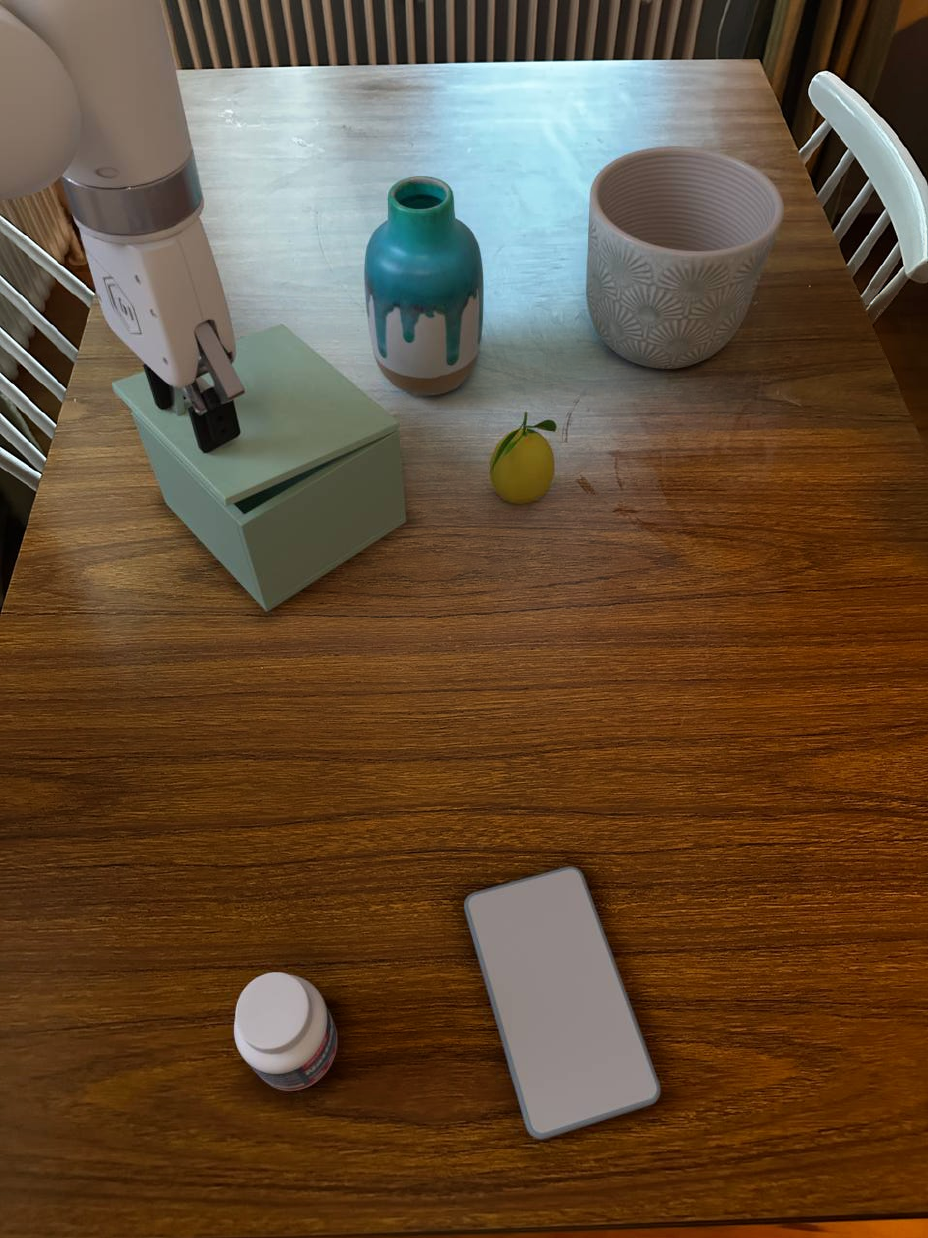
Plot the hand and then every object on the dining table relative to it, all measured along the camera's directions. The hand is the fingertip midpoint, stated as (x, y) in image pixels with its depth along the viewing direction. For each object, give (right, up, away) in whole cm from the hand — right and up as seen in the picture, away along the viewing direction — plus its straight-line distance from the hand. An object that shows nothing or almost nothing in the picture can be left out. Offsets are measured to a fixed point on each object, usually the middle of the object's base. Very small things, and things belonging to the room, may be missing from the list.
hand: (198, 419), depth 69 cm
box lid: (+4, +1, +3) cm, 5 cm away
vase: (+16, +9, +24) cm, 30 cm away
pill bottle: (+9, -41, -11) cm, 43 cm away
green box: (+4, -5, +14) cm, 15 cm away
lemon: (+24, -4, +15) cm, 29 cm away
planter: (+39, +14, +27) cm, 49 cm away
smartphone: (+25, -38, -9) cm, 47 cm away
